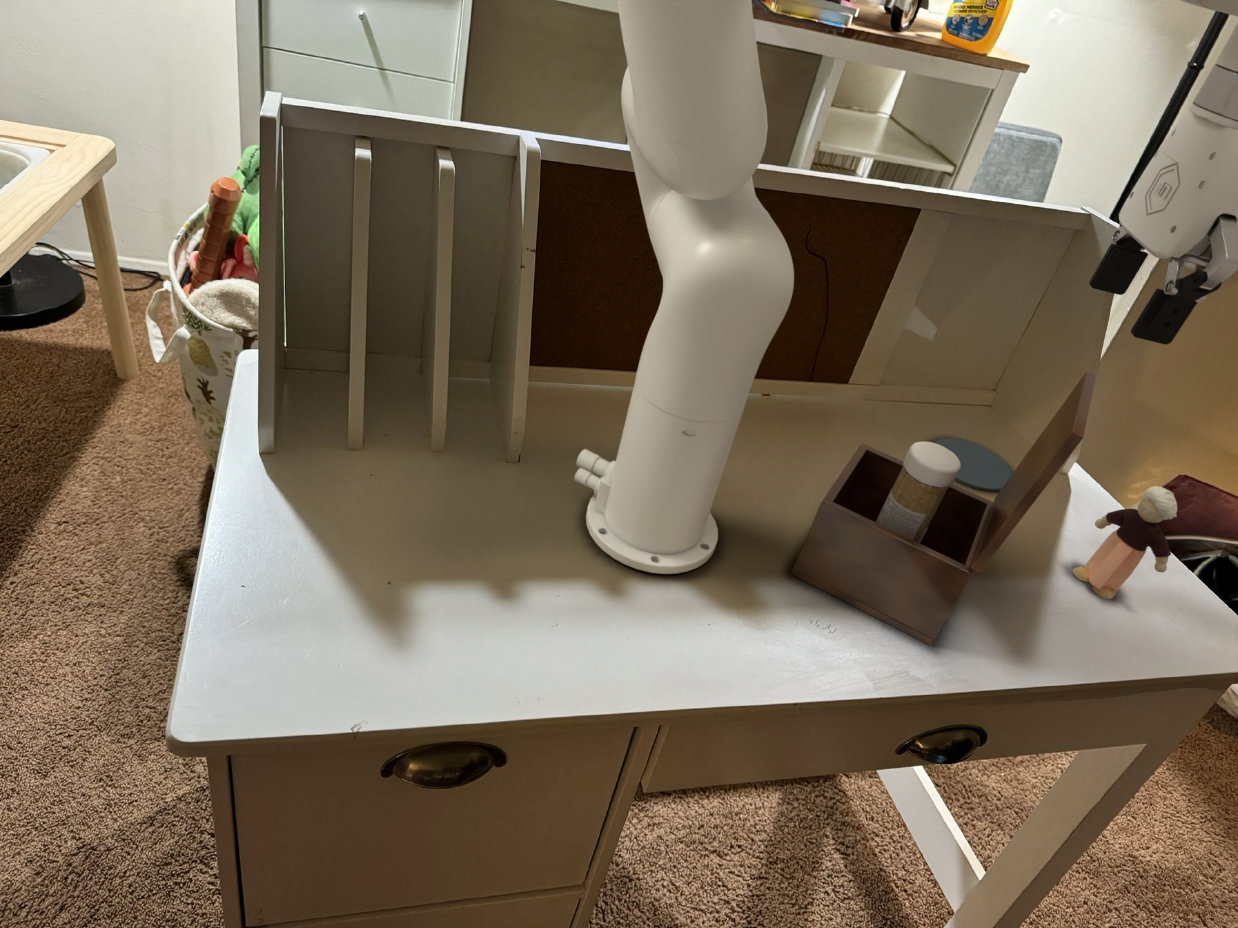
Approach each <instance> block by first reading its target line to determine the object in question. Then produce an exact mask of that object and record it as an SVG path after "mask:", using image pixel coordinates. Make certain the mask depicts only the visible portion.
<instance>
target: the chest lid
mask: <svg viewBox="0 0 1238 928" xmlns="http://www.w3.org/2000/svg"><path fill="white" fill-rule="evenodd" d="M1096 379H1097V375H1096V374H1093V373H1092V372H1090V371H1085V373H1084V374H1083V375H1082V377H1081V378H1080V380H1079V381H1078V383H1077V384H1076V385H1075V387H1074V388H1073V389H1072V391H1071V392H1070V393H1069V395H1068V397H1067V398H1066V399H1065V401H1064V402H1063V403H1062V405H1061V406H1060V407H1059V409H1058V410H1057V412H1056V413H1055V414H1054V416H1053V417H1052V418H1051V420H1050V421H1049V423H1048V424H1047V425H1046V427H1045V428H1044V430H1043V431H1042V432H1041V433H1040V435H1039V437H1038V438H1037V439H1036V441H1035V442H1034V443H1033V444H1032V445H1031V447H1030V449H1028V452H1027V453H1026V455H1025V456H1024V457H1023V459H1022V460H1021V461H1020V462H1019V464H1018V465H1017V467H1016V468H1015V470H1014V471H1012V475H1011V476H1010V478H1009V479H1008V481H1007V482H1006V483H1005V485H1004V486H1003V487H1002V489H1001V490H1000V491H998V493H997V495H996V496H995V497H994V500H993V502H994V503H993V506H992V509H991V511H990V514H989V517H988V520H987V523H986V526H985V529H984V531H983V534H982V537H981V540H980V543H979V546H978V549H977V551H976V554H975V557H974V560H973V563H972V566H971V568H973V569H974V571H976V572H978V573H981V572H982V571H983V570H984V569H985V567H986V566H987V565H988V563H989V562H990V561H991V560H992V558H993V557H994V556H995V554H996V553H997V551H998V550H999V549H1000V547H1001V546H1002V545H1003V544H1004V542H1005V541H1006V540H1007V538H1008V537H1009V536H1010V535H1011V533H1012V532H1013V531H1014V530H1015V528H1016V527H1017V525H1019V523H1020V521H1021V520H1022V519H1023V518H1024V516H1025V515H1026V514H1027V512H1028V511H1029V510H1030V508H1032V506H1033V504H1034V503H1035V502H1036V501H1037V499H1038V498H1039V497H1040V495H1041V494H1042V493H1043V491H1045V489H1046V488H1047V486H1048V485H1049V484H1050V483H1051V481H1052V480H1053V478H1054V477H1055V476H1056V474H1058V472H1059V470H1060V469H1061V468H1062V467H1063V465H1064V464H1065V463H1066V461H1067V460H1068V459H1069V458H1070V456H1071V455H1072V454H1073V453H1074V451H1075V449H1076V448H1078V446H1079V444H1080V443H1081V442H1082V441H1083V440H1084V437H1085V434H1086V433H1085V432H1086V429H1087V428H1086V427H1087V422H1088V418H1089V413H1090V408H1091V404H1092V398H1093V393H1094V388H1095V384H1096Z"/></svg>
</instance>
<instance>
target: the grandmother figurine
mask: <svg viewBox="0 0 1238 928" xmlns="http://www.w3.org/2000/svg"><path fill="white" fill-rule="evenodd" d="M1177 512H1178V502H1177V500H1176V498H1175V493H1173V492H1172V491H1170V490H1169V489H1167V488H1165V487H1163V486H1159V485H1158V486H1157V485H1154V486H1151V487H1148V488H1147V489H1146V490H1145V491H1144V492H1143V493H1142V498H1141V501H1140V502H1139V503H1138V505H1137V509H1136V508H1122V509H1117V510H1113V511H1109V512H1108V513H1107V514H1105V515H1103V516H1102V517H1100V518H1097V519H1096V520H1095V522H1094V526H1095V528H1097V529H1100V530H1103V529H1106V527H1109V526H1111V525H1116V526H1118V528H1117V529H1115V530H1114V531H1112V532H1111V533H1110V534H1109V535H1108V536H1107V537H1106V538H1105V540H1104V541H1103V542H1102V544H1101V545H1100V546H1099V547H1098V549H1096V551H1095V552H1094V553H1093V554H1092V555H1091V556H1090V558H1089V559H1088V560H1087V562H1086V563H1085V566H1076V567H1074V568H1073V569H1072V570H1071V571H1072V575H1074V577H1076V578H1077V580H1079V581H1082V582H1085V583H1090V584H1091V585H1092V591H1093V592H1094V593H1095V594H1097V595H1098V596H1099V597H1101V598H1102V599H1105V600H1111V599H1113V598H1114V597H1115V596H1116V595H1117V591H1118V590H1119V589H1120V588H1121V587H1122V586H1123V584H1124V583H1125V582H1126V581H1127V580H1128V579H1129V578H1130V576H1131V575H1132V574H1133V573H1134V571H1135V570H1136V569H1137V567H1138V565H1139V564H1140V563H1141V561H1142V560H1143V558H1144V556H1145V554H1146V552H1147V549H1148V547H1149V549H1151V552H1152V554H1153V556H1154V557H1155V559H1154V560H1155V563H1154V565H1153V566H1154V570H1155V571H1156V572H1158V573H1165V572H1166V571H1167V569H1168V566H1167V564H1168V562H1169V557H1170V556H1171V555H1172V551H1171V549H1170V546H1169V542H1168V539H1167V538H1166V536H1165V533H1164V532H1163V531H1162V529H1161V527H1160V526H1159V524H1158V523H1161V522H1163V521H1166V520H1172V519H1174V518H1177Z"/></svg>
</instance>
